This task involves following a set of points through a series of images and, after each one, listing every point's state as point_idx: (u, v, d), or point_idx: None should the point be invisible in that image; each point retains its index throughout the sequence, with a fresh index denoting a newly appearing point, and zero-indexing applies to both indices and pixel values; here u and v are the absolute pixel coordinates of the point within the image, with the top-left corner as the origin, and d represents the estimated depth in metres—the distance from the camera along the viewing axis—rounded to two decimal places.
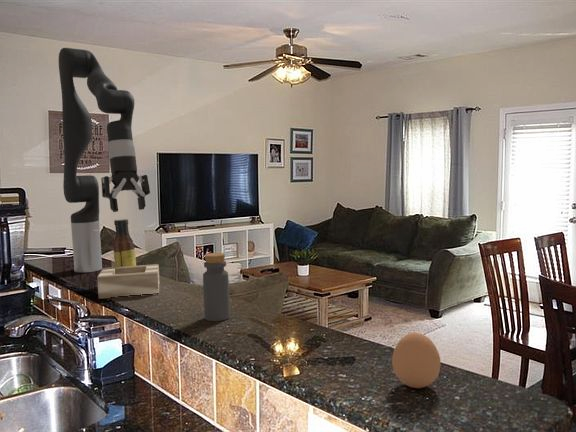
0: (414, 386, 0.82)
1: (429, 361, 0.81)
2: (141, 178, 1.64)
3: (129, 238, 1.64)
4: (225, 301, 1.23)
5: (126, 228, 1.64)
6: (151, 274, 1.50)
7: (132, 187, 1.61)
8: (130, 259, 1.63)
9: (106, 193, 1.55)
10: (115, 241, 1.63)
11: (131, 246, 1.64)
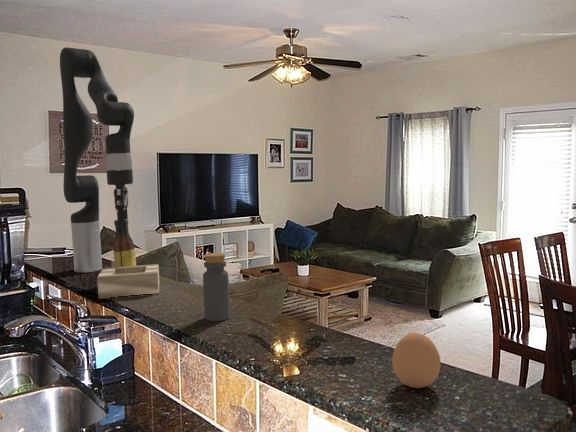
0: (414, 386, 0.82)
1: (429, 361, 0.81)
2: None
3: (129, 238, 1.64)
4: (225, 301, 1.23)
5: (126, 228, 1.64)
6: (151, 274, 1.50)
7: None
8: (130, 259, 1.63)
9: (123, 205, 1.57)
10: (115, 241, 1.63)
11: (131, 246, 1.64)
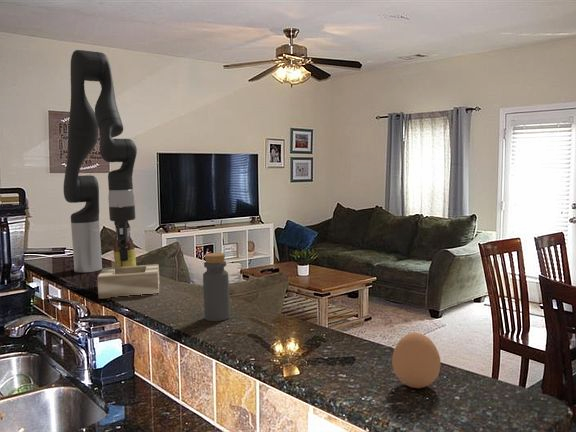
0: (414, 386, 0.82)
1: (429, 361, 0.81)
2: None
3: (129, 238, 1.64)
4: (225, 302, 1.23)
5: None
6: (151, 274, 1.50)
7: None
8: (130, 259, 1.63)
9: (126, 244, 1.59)
10: (115, 241, 1.63)
11: (131, 246, 1.64)
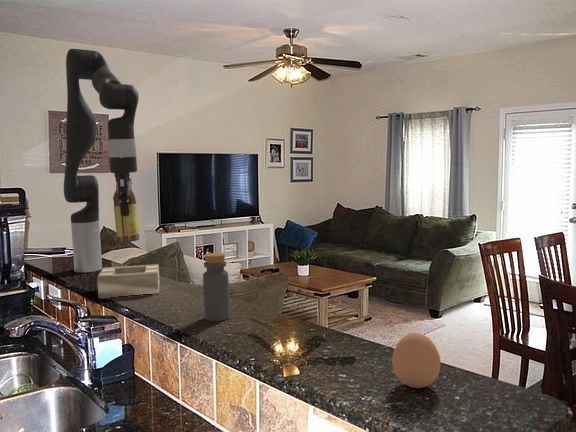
0: (414, 386, 0.82)
1: (429, 361, 0.81)
2: None
3: (130, 192, 1.52)
4: (225, 302, 1.23)
5: None
6: (151, 274, 1.50)
7: None
8: (131, 214, 1.52)
9: (127, 197, 1.48)
10: (115, 195, 1.51)
11: (132, 200, 1.52)
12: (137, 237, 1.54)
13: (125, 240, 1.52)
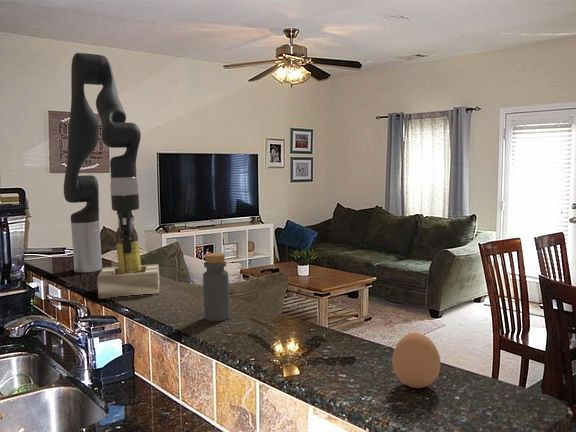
0: (414, 386, 0.82)
1: (429, 361, 0.81)
2: None
3: (133, 229, 1.53)
4: (225, 301, 1.23)
5: None
6: (151, 274, 1.50)
7: None
8: (134, 251, 1.53)
9: (129, 235, 1.49)
10: (118, 232, 1.52)
11: (135, 237, 1.53)
12: None
13: None
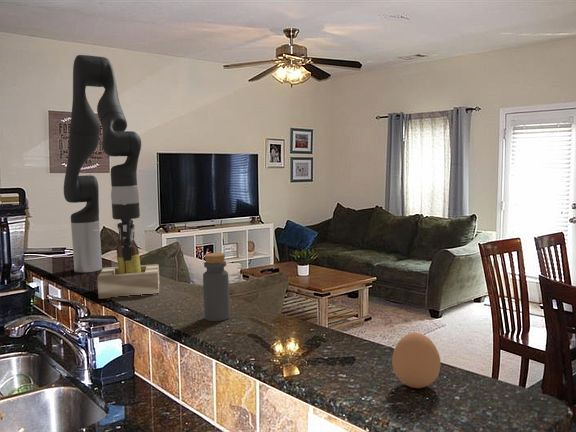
0: (414, 386, 0.82)
1: (429, 361, 0.81)
2: None
3: (133, 242, 1.54)
4: (225, 301, 1.23)
5: None
6: (151, 274, 1.50)
7: None
8: (134, 265, 1.53)
9: (130, 242, 1.48)
10: (118, 246, 1.53)
11: (135, 251, 1.54)
12: None
13: None
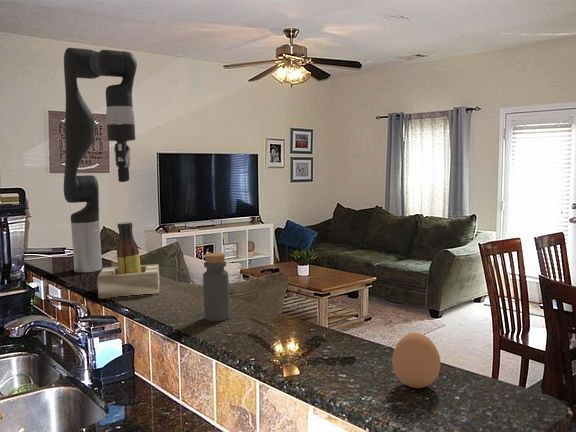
0: (414, 386, 0.82)
1: (429, 361, 0.81)
2: None
3: (133, 242, 1.54)
4: (225, 302, 1.23)
5: (130, 232, 1.54)
6: (151, 274, 1.50)
7: None
8: (134, 265, 1.53)
9: (125, 162, 1.46)
10: (118, 246, 1.53)
11: (135, 251, 1.54)
12: None
13: None
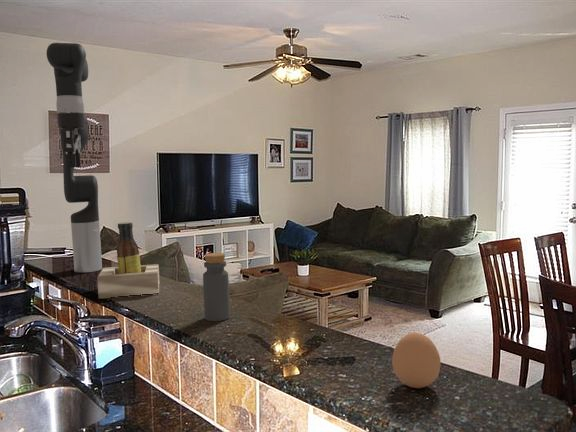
0: (414, 386, 0.82)
1: (429, 361, 0.81)
2: None
3: (133, 242, 1.54)
4: (225, 301, 1.23)
5: (130, 232, 1.54)
6: (151, 274, 1.50)
7: None
8: (134, 265, 1.53)
9: (73, 148, 1.54)
10: (119, 246, 1.53)
11: (136, 251, 1.54)
12: None
13: None
